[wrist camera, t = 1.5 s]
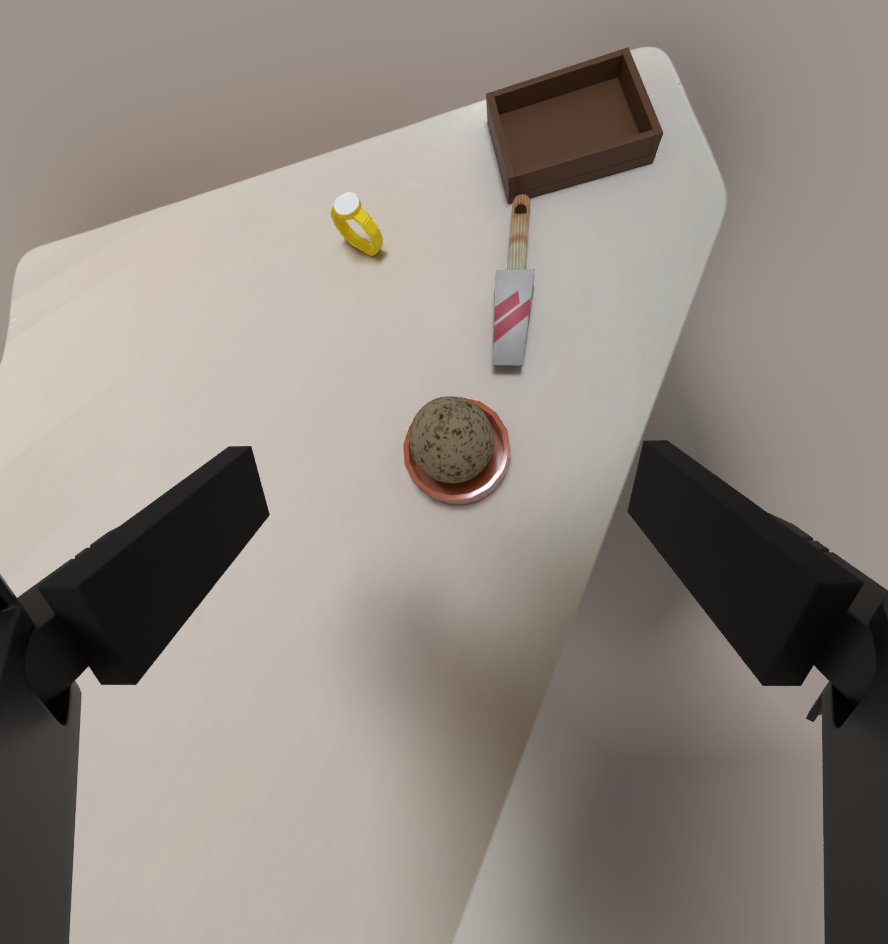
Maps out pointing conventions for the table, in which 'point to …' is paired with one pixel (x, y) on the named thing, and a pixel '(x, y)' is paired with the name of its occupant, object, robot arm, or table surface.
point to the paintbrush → (513, 292)
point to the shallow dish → (475, 486)
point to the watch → (351, 208)
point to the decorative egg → (451, 439)
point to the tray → (572, 126)
